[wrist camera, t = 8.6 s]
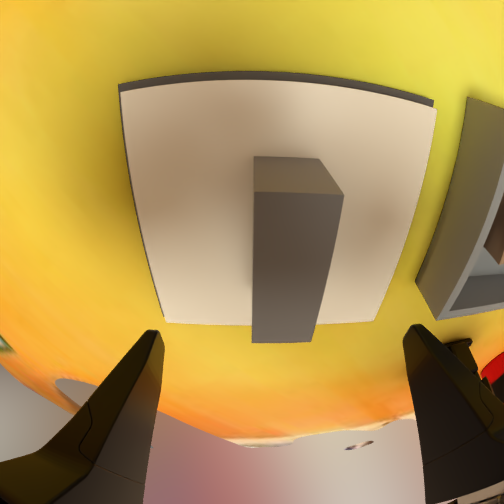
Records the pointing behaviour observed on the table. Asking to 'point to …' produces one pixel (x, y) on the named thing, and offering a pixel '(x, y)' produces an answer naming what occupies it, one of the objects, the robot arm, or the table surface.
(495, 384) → the soda can
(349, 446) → the table surface
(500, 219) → the walnut block
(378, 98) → the lid
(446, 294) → the storage box
